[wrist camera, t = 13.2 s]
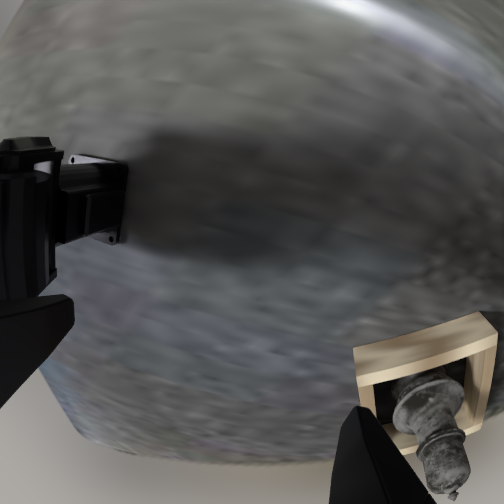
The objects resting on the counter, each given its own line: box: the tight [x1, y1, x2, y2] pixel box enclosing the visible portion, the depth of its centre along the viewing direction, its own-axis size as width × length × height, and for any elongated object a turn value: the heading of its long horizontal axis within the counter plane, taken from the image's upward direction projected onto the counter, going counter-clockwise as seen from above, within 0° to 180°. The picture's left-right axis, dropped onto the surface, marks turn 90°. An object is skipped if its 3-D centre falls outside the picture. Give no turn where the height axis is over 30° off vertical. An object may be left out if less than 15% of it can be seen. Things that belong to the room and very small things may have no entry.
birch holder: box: [353, 311, 498, 455], centre depth 18 cm, size 10×10×4 cm
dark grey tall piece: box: [390, 364, 470, 501], centre depth 14 cm, size 6×6×12 cm
